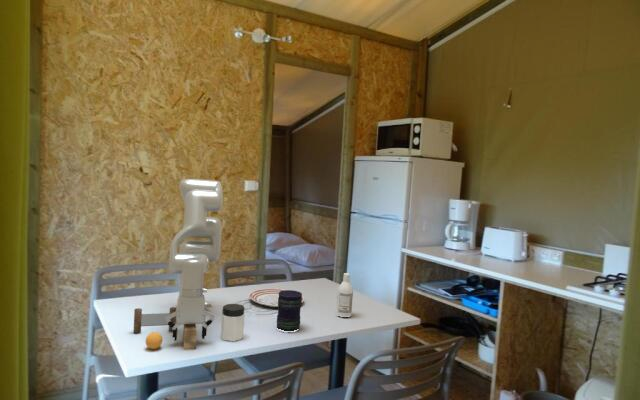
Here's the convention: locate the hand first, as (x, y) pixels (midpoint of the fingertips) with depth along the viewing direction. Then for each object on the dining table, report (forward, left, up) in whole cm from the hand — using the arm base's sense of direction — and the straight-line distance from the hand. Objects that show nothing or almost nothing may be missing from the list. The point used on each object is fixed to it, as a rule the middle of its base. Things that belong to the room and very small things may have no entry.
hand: (189, 338), depth 160 cm
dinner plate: (-44, -47, -3) cm, 65 cm away
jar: (-16, -4, -2) cm, 17 cm away
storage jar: (-40, -10, -2) cm, 41 cm away
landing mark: (+12, -28, -2) cm, 31 cm away
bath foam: (-70, -22, -2) cm, 73 cm away
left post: (+18, -14, -2) cm, 23 cm away
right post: (+6, -14, -2) cm, 15 cm away
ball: (+12, +2, +1) cm, 12 cm away
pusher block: (0, 0, -2) cm, 2 cm away
